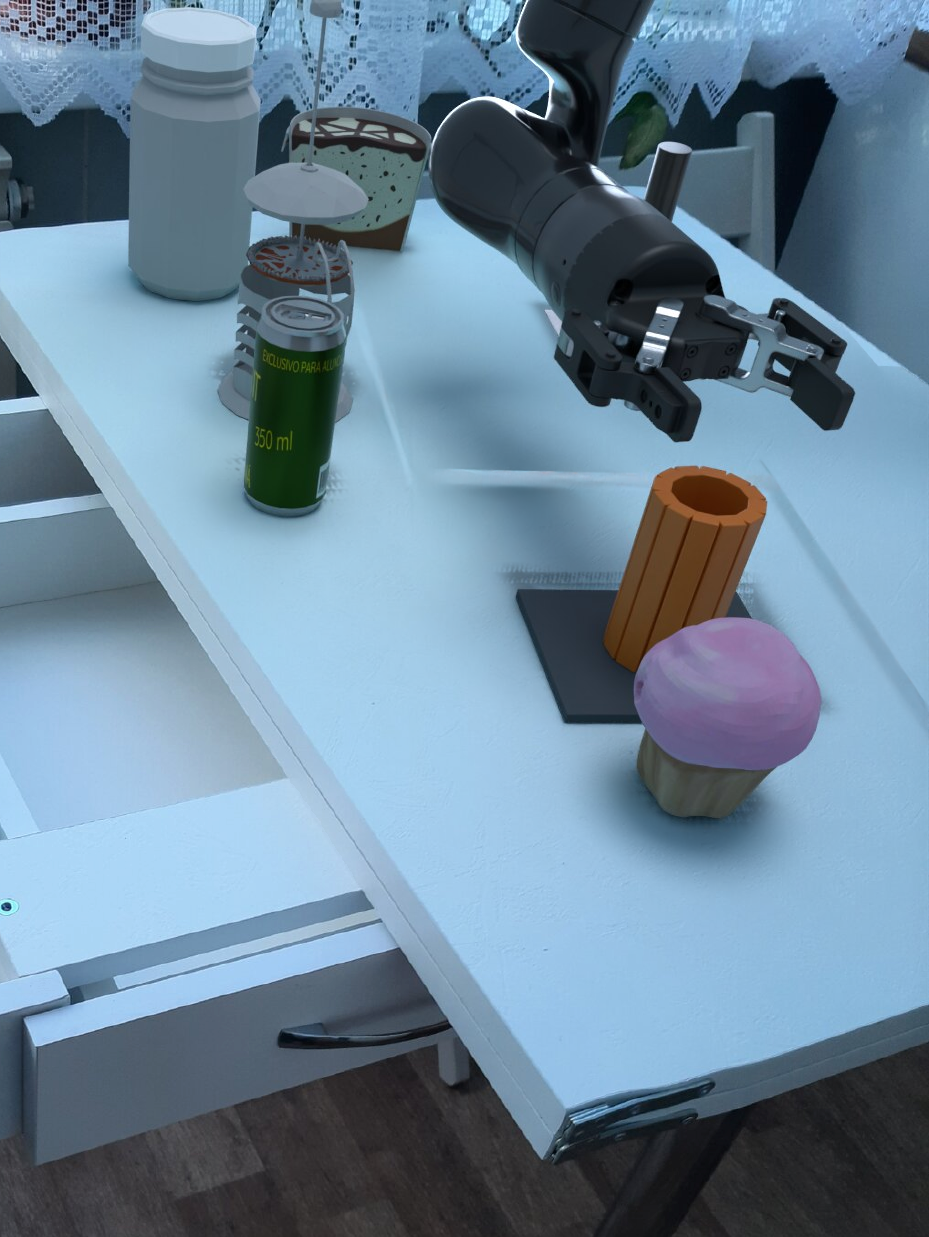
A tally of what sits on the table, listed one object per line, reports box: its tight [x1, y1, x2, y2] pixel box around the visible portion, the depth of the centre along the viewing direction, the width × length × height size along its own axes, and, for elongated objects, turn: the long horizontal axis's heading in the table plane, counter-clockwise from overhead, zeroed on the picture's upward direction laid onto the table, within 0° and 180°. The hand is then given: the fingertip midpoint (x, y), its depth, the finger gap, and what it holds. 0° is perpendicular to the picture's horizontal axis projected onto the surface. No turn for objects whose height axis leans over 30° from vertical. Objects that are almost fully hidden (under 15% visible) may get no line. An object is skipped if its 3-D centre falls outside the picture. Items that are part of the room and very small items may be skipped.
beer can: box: [243, 295, 347, 518], centre depth 86 cm, size 5×5×12 cm
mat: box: [515, 588, 753, 724], centre depth 81 cm, size 14×12×1 cm
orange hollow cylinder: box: [603, 465, 768, 673], centre depth 77 cm, size 6×6×10 cm
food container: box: [280, 106, 432, 253], centre depth 115 cm, size 12×6×10 cm, turn 88°
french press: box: [217, 0, 369, 423], centre depth 90 cm, size 10×12×25 cm
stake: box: [543, 141, 693, 337], centre depth 103 cm, size 10×10×15 cm
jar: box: [127, 6, 262, 302], centre depth 105 cm, size 10×10×18 cm
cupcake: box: [634, 617, 823, 819], centre depth 69 cm, size 9×9×10 cm
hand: (767, 419), depth 68 cm, fingers open, 8 cm apart
